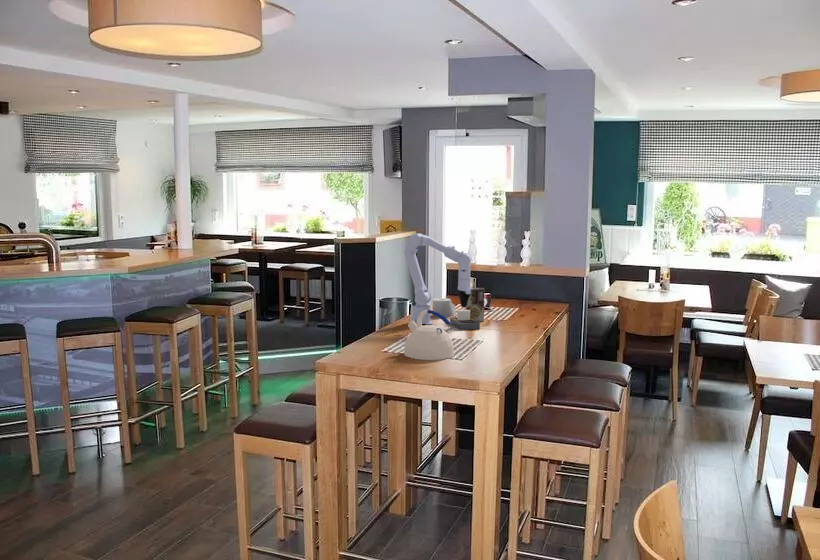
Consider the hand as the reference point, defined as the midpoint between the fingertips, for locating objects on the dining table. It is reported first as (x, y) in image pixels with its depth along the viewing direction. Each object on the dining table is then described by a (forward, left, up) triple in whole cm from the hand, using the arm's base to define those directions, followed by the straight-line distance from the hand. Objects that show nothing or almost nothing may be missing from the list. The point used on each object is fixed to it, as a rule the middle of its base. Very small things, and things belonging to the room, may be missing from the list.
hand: (463, 306), depth 344 cm
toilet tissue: (-2, +28, -10) cm, 30 cm away
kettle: (-31, -55, -10) cm, 64 cm away
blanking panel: (0, 0, -9) cm, 9 cm away
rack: (0, -2, -9) cm, 9 cm away
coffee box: (+10, +13, -9) cm, 19 cm away
